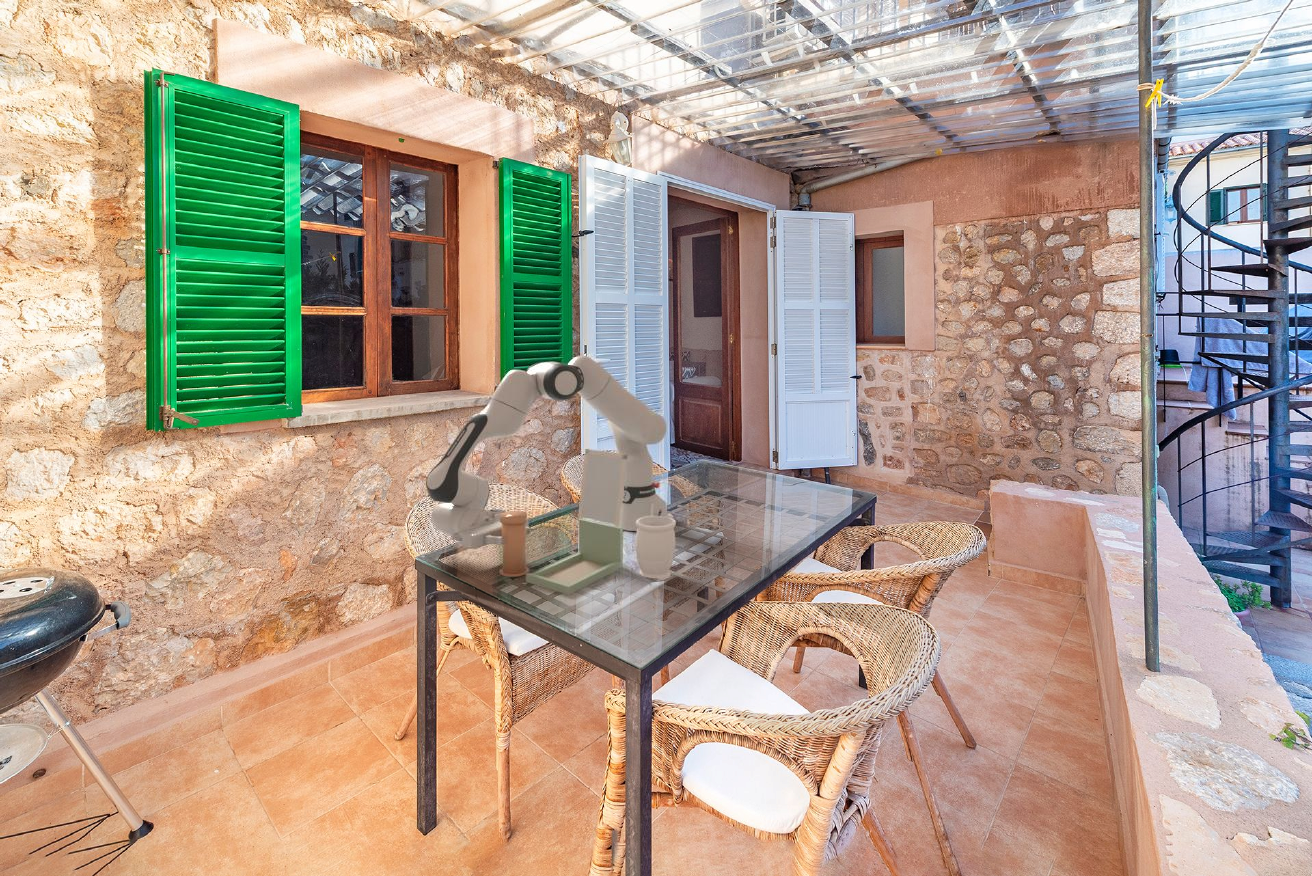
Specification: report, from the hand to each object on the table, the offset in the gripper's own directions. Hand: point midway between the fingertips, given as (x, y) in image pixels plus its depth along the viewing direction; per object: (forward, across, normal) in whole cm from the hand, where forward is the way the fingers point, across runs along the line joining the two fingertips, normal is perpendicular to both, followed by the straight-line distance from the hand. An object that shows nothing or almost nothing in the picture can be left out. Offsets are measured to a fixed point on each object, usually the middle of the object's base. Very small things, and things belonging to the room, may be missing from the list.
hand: (516, 536), depth 165 cm
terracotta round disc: (-1, 0, +11) cm, 11 cm away
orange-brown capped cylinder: (-1, 0, +9) cm, 9 cm away
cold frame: (+14, +8, +11) cm, 19 cm away
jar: (+30, +20, +11) cm, 38 cm away
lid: (+14, +18, -11) cm, 25 cm away
